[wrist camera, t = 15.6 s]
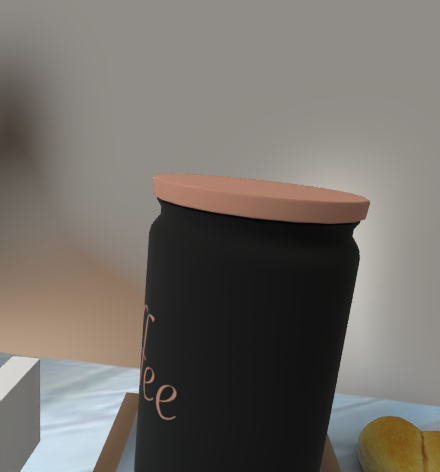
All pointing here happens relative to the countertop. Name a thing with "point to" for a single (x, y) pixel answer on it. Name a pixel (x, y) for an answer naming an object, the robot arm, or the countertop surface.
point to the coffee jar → (243, 323)
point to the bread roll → (398, 447)
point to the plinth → (124, 442)
